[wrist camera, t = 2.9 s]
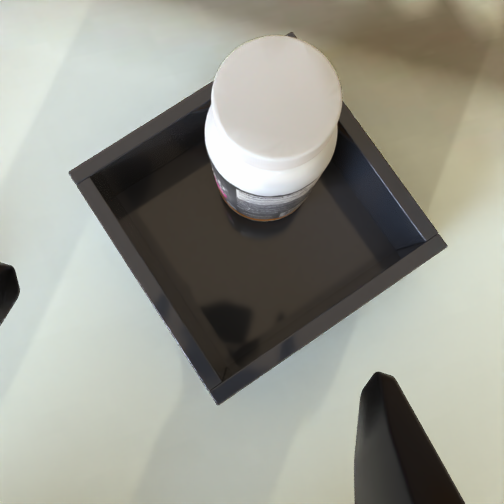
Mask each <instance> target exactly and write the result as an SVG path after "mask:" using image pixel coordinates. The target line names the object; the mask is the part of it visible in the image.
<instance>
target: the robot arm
mask: <svg viewBox="0 0 504 504" xmlns="http://www.w3.org/2000/svg"><path fill="white" fill-rule="evenodd" d="M19 293H20V288H19V284H18V280H17V276H16V272H15V269H14V268H13V267H12V266H11V265H8V264H4V263H1V262H0V326H1V324H2V322H3V321H4V319H5V318H6V316H7V314H8V313H9V311H10V310H11V308H12V306H13V305H14V303H15V302H16V300H17V298H18V296H19ZM354 491H355V504H465V502H464V500H463V499H462V497H461V495H460V493H459V491H458V490H457V488H456V486H455V484H454V482H453V481H452V479H451V477H450V475H449V474H448V472H447V470H446V468H445V466H444V465H443V463H442V461H441V459H440V457H439V456H438V454H437V452H436V450H435V449H434V447H433V445H432V443H431V441H430V440H429V438H428V436H427V434H426V432H425V431H424V429H423V427H422V425H421V424H420V422H419V420H418V418H417V416H416V415H415V413H414V411H413V409H412V407H411V406H410V404H409V402H408V400H407V398H406V397H405V395H404V393H403V391H402V390H401V388H400V386H399V384H398V382H397V381H396V379H395V378H394V377H393V376H391V375H388V374H385V373H382V372H376V373H374V374H373V376H372V377H371V378H370V380H369V381H368V383H367V384H366V385H365V387H364V388H363V390H362V393H361V396H360V405H359V415H358V426H357V436H356V446H355V459H354Z"/></svg>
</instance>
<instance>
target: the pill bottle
mask: <svg viewBox="0 0 504 504" xmlns="http://www.w3.org/2000/svg"><path fill="white" fill-rule="evenodd" d="M341 108H342V89H341V84H340V81H339V78H338V75H337V73H336V71H335V69H334V67H333V66H332V64H331V63H330V61H329V60H328V59H327V58H326V57H325V56H324V54H323V53H322V52H320V51H319V50H318V49H317V48H315V47H314V46H312V45H311V44H309V43H307V42H305V41H303V40H300V39H297V38H294V37H289V36H283V35H269V36H262V37H258V38H255V39H252V40H250V41H248V42H246V43H244V44H242V45H240V46H239V47H237V48H236V49H235V50H233V51H232V52H231V53H230V54H229V55H228V56H227V57H226V59H225V60H224V61H223V63H222V64H221V66H220V67H219V69H218V71H217V73H216V76H215V79H214V82H213V86H212V93H211V106H210V108H209V111H208V114H207V118H206V123H205V146H206V150H207V153H208V156H209V159H210V162H211V165H212V169H213V172H214V176H215V180H216V182H217V186H218V189H219V191H220V193H221V196H222V197H223V199H224V201H225V202H226V203H227V204H228V206H229V207H230V208H231V209H232V210H234V211H235V212H236V213H237V214H239V215H241V216H243V217H245V218H247V219H250V220H254V221H262V222H266V221H274V220H278V219H281V218H284V217H286V216H288V215H289V214H291V213H293V212H294V211H295V210H296V209H297V208H298V207H299V206H300V205H301V204H302V203H303V202H304V201H305V200H306V198H307V197H308V195H309V193H310V192H311V190H312V189H313V187H314V186H315V184H316V182H317V181H318V179H319V178H320V176H321V175H322V173H323V172H324V170H325V169H326V167H327V166H328V164H329V162H330V160H331V158H332V156H333V153H334V150H335V146H336V141H337V131H338V129H337V123H338V120H339V117H340V113H341Z"/></svg>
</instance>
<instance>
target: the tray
mask: <svg viewBox="0 0 504 504" xmlns="http://www.w3.org/2000/svg"><path fill="white" fill-rule="evenodd" d="M286 36H289V37H294V38H296V36H295V35H294V33H293V32H291V33H289V34H287V35H286ZM213 82H214V81H213ZM213 82H211V83H209V84H208V85H206V86H205V87H203V88H201V89H200V90H198V91H197V92H195V93H193V94H192V95H190V96H189V97H187V98H186V99H184V100H182V101H181V102H179V103H178V104H176V105H174V106H173V107H171V108H170V109H168V110H166V111H165V112H163V113H162V114H160V115H158V116H157V117H155V118H154V119H152V120H150V121H149V122H147V123H146V124H144V125H143V126H141V127H139V128H138V129H136V130H135V131H133V132H131V133H130V134H128V135H127V136H125V137H123V138H122V139H120V140H119V141H117V142H115V143H114V144H112V145H111V146H109V147H108V148H106V149H104V150H103V151H101V152H100V153H98V154H96V155H95V156H93V157H92V158H90V159H88V160H87V161H85V162H84V163H82V164H80V165H79V166H77V167H76V168H74V169H72V170H71V171H69V175H70V176H71V178H72V179H73V181H74V183H75V184H76V185H77V187H78V189H79V190H80V192H81V194H82V195H83V197H84V198H85V200H86V201H87V203H88V204H89V206H90V208H91V209H92V211H93V212H94V214H95V215H96V217H97V219H98V220H99V222H100V223H101V225H102V226H103V228H104V229H105V231H106V233H107V234H108V236H109V237H110V239H111V240H112V242H113V243H114V245H115V247H116V248H117V250H118V251H119V253H120V254H121V256H122V258H123V259H124V261H125V262H126V264H127V265H128V267H129V268H130V270H131V272H132V273H133V275H134V276H135V278H136V279H137V281H138V282H139V284H140V286H141V287H142V289H143V290H144V292H145V293H146V295H147V297H148V298H149V300H150V301H151V303H152V304H153V306H154V307H155V309H156V311H157V312H158V314H159V315H160V317H161V318H162V320H163V321H164V323H165V325H166V326H167V328H168V329H169V331H170V332H171V334H172V335H173V337H174V339H175V340H176V342H177V343H178V345H179V346H180V348H181V350H182V351H183V353H184V354H185V356H186V357H187V359H188V360H189V362H190V364H191V365H192V367H193V368H194V370H195V371H196V373H197V374H198V376H199V378H200V379H201V381H202V382H203V384H204V385H205V387H206V389H207V390H208V391H209V393H210V395H211V396H212V398H213V399H214V401H215V403H216V404H217V405H220V404H221V403H223V402H224V401H226V400H227V399H229V398H230V397H232V396H233V395H234V394H236V393H237V392H239V391H240V390H242V389H243V388H245V387H246V386H247V385H249V384H250V383H252V382H253V381H255V380H256V379H258V378H259V377H260V376H262V375H263V374H265V373H266V372H268V371H269V370H271V369H272V368H273V367H275V366H276V365H278V364H279V363H281V362H282V361H284V360H285V359H286V358H288V357H289V356H291V355H292V354H294V353H295V352H296V351H298V350H299V349H301V348H302V347H304V346H305V345H307V344H308V343H309V342H311V341H312V340H314V339H315V338H317V337H318V336H320V335H321V334H322V333H324V332H325V331H327V330H328V329H330V328H331V327H333V326H334V325H335V324H337V323H338V322H340V321H341V320H343V319H344V318H346V317H347V316H348V315H350V314H351V313H353V312H354V311H356V310H357V309H359V308H360V307H361V306H363V305H364V304H366V303H367V302H369V301H370V300H371V299H373V298H374V297H376V296H377V295H379V294H380V293H382V292H383V291H384V290H386V289H387V288H389V287H390V286H392V285H393V284H395V283H396V282H397V281H399V280H400V279H402V278H403V277H405V276H406V275H408V274H409V273H410V272H412V271H413V270H415V269H416V268H418V267H419V266H421V265H422V264H423V263H425V262H426V261H428V260H429V259H431V258H432V257H434V256H435V255H436V254H438V253H439V252H441V251H442V250H444V249H445V248H447V244H446V243H445V242H444V240H443V239H442V237H441V236H440V235H439V234H438V232H437V230H436V229H435V228H434V226H433V225H432V223H431V222H430V221H429V219H428V218H427V216H426V215H425V214H424V212H423V211H422V210H421V208H420V207H419V205H418V204H417V203H416V201H415V200H414V199H413V197H412V196H411V194H410V193H409V192H408V190H407V189H406V188H405V186H404V185H403V183H402V182H401V181H400V179H399V178H398V176H397V175H396V174H395V172H394V171H393V170H392V168H391V167H390V165H389V164H388V163H387V161H386V160H385V159H384V157H383V156H382V154H381V153H380V152H379V150H378V149H377V148H376V146H375V145H374V143H373V142H372V141H371V139H370V138H369V136H368V135H367V134H366V132H365V131H364V130H363V128H362V127H361V125H360V124H359V123H358V121H357V120H356V119H355V117H354V116H353V114H352V113H351V112H350V110H349V109H348V108H347V106H346V105H345V103H344V102H343V101H342V108H341V113H340V117H339V120H338V123H337V129H338V131H337V141H336V146H335V150H334V153H333V156H332V158H331V160H330V162H329V164H328V166H327V167H326V169H325V170H324V172H323V173H322V175H321V176H320V178H319V179H318V181H317V182H316V184H315V186H314V187H313V189H312V190H311V192H310V193H309V195H308V197H307V198H306V200H305V201H304V202H303V203H302V204H301V205H300V206H299V207H298V208H297V209H296V210H295V211H294V212H293V213H291V214H289V215H288V216H286V217H284V218H281V219H278V220H274V221H266V222H262V221H254V220H250V219H247V218H245V217H243V216H241V215H239V214H237V213H236V212H235V211H234V210H232V209H231V208H230V207H229V206H228V204H227V203H226V202H225V201H224V199H223V197H222V196H221V193H220V191H219V189H218V186H217V182H216V180H215V176H214V172H213V169H212V165H211V162H210V159H209V156H208V153H207V150H206V146H205V123H206V118H207V114H208V111H209V108H210V106H211V93H212V86H213Z"/></svg>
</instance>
